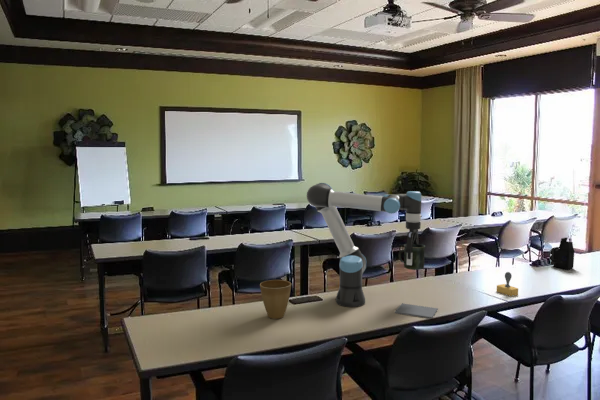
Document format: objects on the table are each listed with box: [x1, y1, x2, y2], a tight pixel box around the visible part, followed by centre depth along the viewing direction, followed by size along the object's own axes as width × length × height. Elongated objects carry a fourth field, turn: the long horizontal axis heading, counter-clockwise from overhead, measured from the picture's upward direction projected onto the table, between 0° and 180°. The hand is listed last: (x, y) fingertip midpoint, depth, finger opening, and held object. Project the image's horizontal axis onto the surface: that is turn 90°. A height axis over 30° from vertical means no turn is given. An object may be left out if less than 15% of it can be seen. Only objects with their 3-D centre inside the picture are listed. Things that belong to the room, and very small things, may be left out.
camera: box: [549, 237, 575, 271], centre depth 332 cm, size 10×14×20 cm
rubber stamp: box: [496, 271, 519, 297], centre depth 276 cm, size 10×6×12 cm, turn 28°
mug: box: [398, 243, 426, 271], centre depth 263 cm, size 11×15×12 cm
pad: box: [394, 302, 439, 320], centre depth 247 cm, size 18×14×1 cm
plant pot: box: [259, 279, 292, 320], centre depth 239 cm, size 15×15×16 cm
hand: (411, 262), depth 264 cm, fingers closed on mug, 11 cm apart
